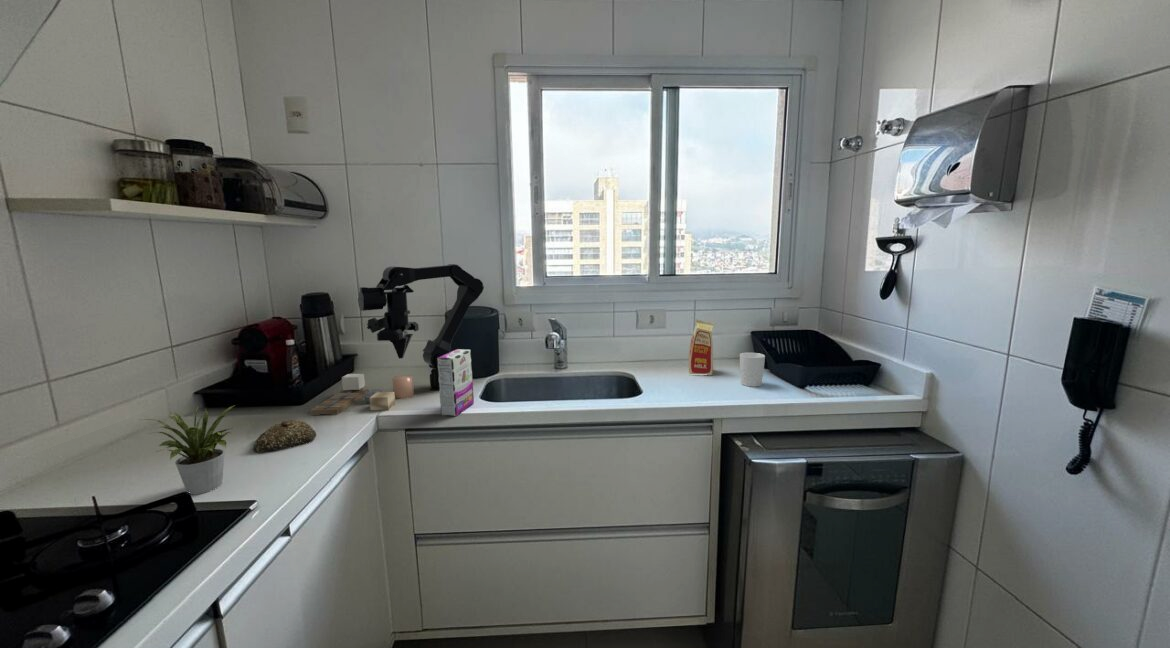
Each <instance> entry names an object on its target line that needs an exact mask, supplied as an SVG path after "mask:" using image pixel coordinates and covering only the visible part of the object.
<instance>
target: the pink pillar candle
mask: <svg viewBox="0 0 1170 648" xmlns="http://www.w3.org/2000/svg"><path fill="white" fill-rule="evenodd" d="M391 380H392V381H391V382H392V383H391V384H392V392H394V394H395V399H397V398H403V399H408V398H407V397H409V398H411V396H412V397H413V396H414V395H415V393H414V392H415V390H414V389H415V388H414V376H413V375H412V374H399V375H395V376H392V378H391Z"/></svg>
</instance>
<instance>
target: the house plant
mask: <svg viewBox="0 0 1170 648" xmlns="http://www.w3.org/2000/svg"><path fill="white" fill-rule="evenodd" d="M200 405H201V403H199V404H198V406H197V407H196V409H195V413H194V422H193V424H194V425H193V426H191V427H189V426H188V425H187V424H186V422H185V421H184V420H183V418H182V417H181V415H180V414H178V413H176V412H172V411H170V413H171V414H169V413H167V415H168V416H169V417H170V418H171V419H172V420H173V421H175V423H176V424H177V426H179V427H180V428H181V430H182V431H183V432H184V433H182V432H181V431H180V430H178V429H176V428H174V427H171V426H170V425H168V424H167V423H166V422H164V421H161V420H158V419H153V418H144V419H143V418H141V419H138V421H139V420H140V421H141V420H147V421H154V422H157V423H159V424H162V425H164V426H161V429H162V428H164V429H167V430H170V431H171V432H173V433H174V434H175V435H176V436H178V437H179V438H180V439H182V441H183V442H185V444H187V445H184V444H182V442H180V441H179V440H178V439H176V437H174V436H173V435H172V434H169V433H167V432H163V431H154V432H153V434H156V433H158V434H164V435H165V436H167V437H169V438H170V439H172V440H169V439H168V440H165V441H163V442H161V443H160V444H159V445H158V447H164V446H165V449H166V448H167V449H168V448H175V449H173V450H172V449H168V451H170V458H169V461H171V460H172V458H174V457H175V456H177V455H180V457H179V458H178V459H176V460H175V464H174V465H175V466H176V469H177V471H178V474H179V475H180V478H181V482H182V484H183V486H184V488H185V491H186V492H190V493H191V494H195V495H201V493H202V494H205V492H206V493H209V492H211V491H210V490H212V491H214V490H216V489H218V488H219V487H218V486H220V485H221V484H223V479H224V478H223V477H224V464H225V463H224V462H225V450H224V449H221V448H216V447H217V445H221V446H223V447H224V448H225V449H227V441H226V440H225V439H223V438H224V437H225V436H227V435H228V434H231V433H232V431H229V430H232V429H234V427H232V428H231V427H230V428H225V429H222V430H219V431H215V430H216V428H217V426H218V425H219V424H220V423H221V421H222V420H223V419H224V418H225V417H227V413H228V412H229V411H230V410H231V409H232V408H234V407H235V406H236V404H234V405H232V406H229V407H227V409H225V410H224V411H222V412H221V413H220V414H219V415H218V417H217V418H216V419H215V420H214V421H213V423H212V425H211V426H210V427H209V428H208V430H207V426H208V420H209V413H208V410H207V409H206V408H204V414H203V415H202V417H199V419H198V421H197V413H198V410H199V406H200ZM172 414H173V415H172ZM201 418H202V423H201V427H200V428H199V425H200V422H201ZM158 428H160V426H158V427H157V426H156V427H152V428H151V430H152V429H158ZM147 430H149V431H150V428H149V429H147ZM214 431H215V432H214ZM226 431H227V432H226ZM224 432H225V433H224ZM222 433H223V434H222ZM150 434H152V432H150V433H149V435H150ZM166 446H167V447H166ZM162 451H163V449H160V450H157V451H156V452H162ZM182 452H183V453H182ZM221 486H222V485H221ZM221 486H220V487H221ZM217 487H218V488H217ZM215 488H216V489H215ZM213 489H214V490H213ZM208 491H209V492H208ZM191 494H190V495H191Z"/></svg>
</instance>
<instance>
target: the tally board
mask: <svg viewBox="0 0 1170 648" xmlns="http://www.w3.org/2000/svg"><path fill="white" fill-rule="evenodd" d="M366 391H369V388H368V387H362V388H361V389H359V390H343V389H342V390H341V391H340V392H338V393H336V394H334V395H333V396H331V397H329V398H328V399H326V400H325V401H323V402H322V403H320V404H319V405H316V406H315V407H313V408H311V409H310V412H311V416H319V415H320V414H333V415H339V414H340V413H341V411H342V410H343V411H344V410H346V409H348V406H349V405H350V406H352V405H353V404H354V403H356V402H357V401H359V400H360V399H362V398H363V397H365V395H364V393H365V392H366ZM362 396H363V397H362ZM359 398H360V399H359ZM358 399H359V400H358ZM356 400H357V401H356ZM355 401H356V402H355ZM352 403H353V404H352ZM350 406H349V407H350ZM345 408H346V409H345ZM343 411H342V412H343ZM339 412H340V413H339ZM338 413H339V414H338ZM320 416H321V415H320Z"/></svg>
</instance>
